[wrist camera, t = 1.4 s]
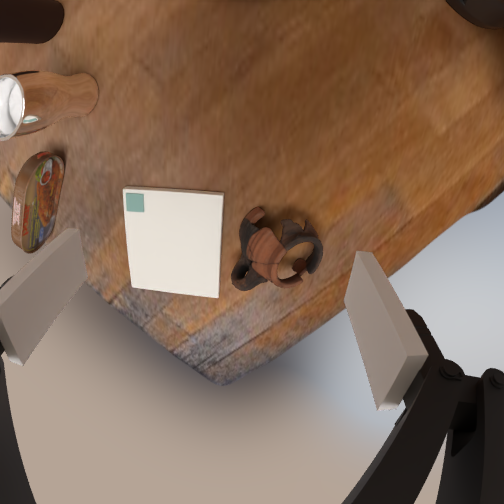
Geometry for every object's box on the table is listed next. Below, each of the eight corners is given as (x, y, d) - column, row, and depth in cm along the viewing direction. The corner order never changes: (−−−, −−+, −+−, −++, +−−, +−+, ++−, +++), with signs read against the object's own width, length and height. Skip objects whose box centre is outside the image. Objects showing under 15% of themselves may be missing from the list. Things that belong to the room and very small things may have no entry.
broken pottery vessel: (268, 183, 39) (306, 215, 33) (304, 221, 46) (340, 254, 40) (202, 254, 41) (228, 297, 35) (247, 282, 47) (274, 320, 41)
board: (224, 192, 39) (222, 196, 38) (219, 293, 46) (218, 299, 45) (126, 186, 39) (121, 189, 38) (134, 282, 46) (131, 288, 45)
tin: (53, 238, 44) (23, 265, 36) (38, 230, 43) (7, 256, 36) (70, 150, 37) (33, 166, 30) (54, 143, 37) (16, 157, 29)
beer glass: (85, 59, 31) (7, 57, 18) (111, 97, 34) (36, 108, 20) (52, 94, 33) (-27, 108, 20) (75, 130, 36) (0, 157, 22)
